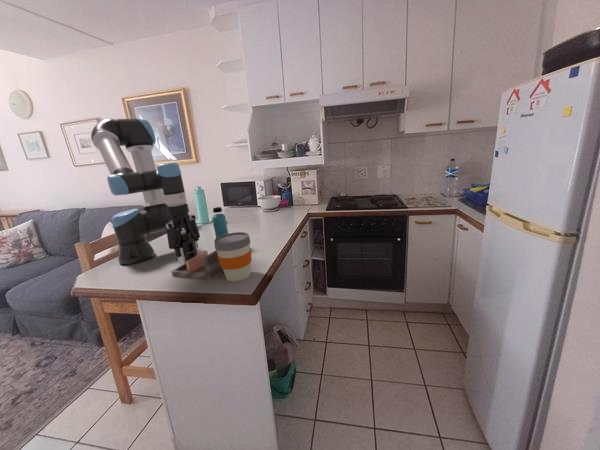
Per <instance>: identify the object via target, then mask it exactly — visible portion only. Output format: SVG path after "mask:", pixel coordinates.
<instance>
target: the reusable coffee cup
mask: <svg viewBox="0 0 600 450" xmlns="http://www.w3.org/2000/svg"><path fill="white" fill-rule="evenodd" d="M228 233H229V232H228ZM214 249H215V251H216V250H217V253H218V255H217V257H218V260H219V263H220V266H221V268H223V273H224V277H225V278H226V281H229V282H240V281H243V280H245V279H248V278H249V277H250V276H251V274H252V273H251V263H252V248H251V238H250V236H249V233H247V232H242V231H239V232H238V231H236V232H230V233H229V234H225V235H222V236H219V237H217V238H216V237H215V238H214Z"/></svg>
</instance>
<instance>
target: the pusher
mask: <svg viewBox="0 0 600 450" xmlns="http://www.w3.org/2000/svg"><path fill="white" fill-rule="evenodd" d="M207 255H209V254H208V250H204V251H202V252H201V253H199V254H198V255H197V256H195V257H193V258H191V259H189V260H188V261H186V266H187V270H188V271H189V272H194V271H196V270H198V269H199V268H201V267H202V266H204V261H203V258H204V257H205V256H207Z"/></svg>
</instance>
